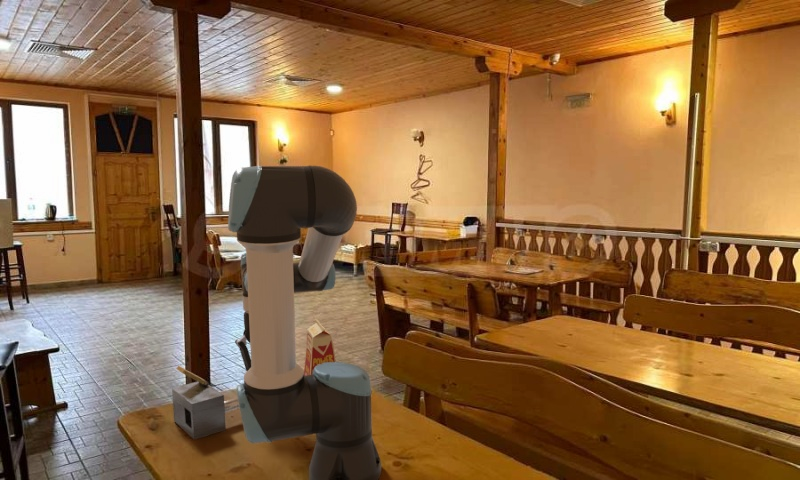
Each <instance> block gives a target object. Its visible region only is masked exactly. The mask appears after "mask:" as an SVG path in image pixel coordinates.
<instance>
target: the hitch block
mask: <svg viewBox="0 0 800 480" xmlns="http://www.w3.org/2000/svg"><path fill="white" fill-rule="evenodd" d="M171 397H172V406H173V408H172V409H173V410H172V411H173V421H175V422H176V425H177V426H179V428H181V429H182V430H183V431H184V432H185V433H186V434H187V435H188V436H189V437H191V438H192V440H194V441H195V440H198V439H200V438H204V437H207V436H209V435H213V434H216V433H220V432H222V431H225V430H227V427H226V425H227V423H226V421H227V420H226V413H225V404H224V401H225V395H224V394H223V393H222V392H221V391H219V390H217V389H215V388H214V387H213V386H211V385H210V384H209V385H208V386H205V385H204V384H202V383H200V382H198V381H195V382H191V383H187V384H183V385H179V386H175V387H172V388H171ZM175 422H174V423H175Z"/></svg>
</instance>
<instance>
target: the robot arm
mask: <svg viewBox="0 0 800 480" xmlns="http://www.w3.org/2000/svg"><path fill="white" fill-rule="evenodd" d="M228 199H229V202H228V219H227V221H228V222H227V227H228V231H230V232H232V233H236V241H237V242H238V244H239V245H241V246H242V247H243V248H245V252H244V253H242V254H241V256H240V274H241V288H242V309H243V311H244V313H243V326H244V330H243V333H242V334H243V335H242V336H241V337H240V338H239V339H236V340H235V341H234V343H235V344H236V346H237V347H238V348H239V351H240V355H241V357H242V358H241V359H242V362H243V363H244V367H245V371H246V372H245V373H244V376H243V383H240V384H238V385H237V386H236V394H237V398H238V401H239V406H240V408H239V409H240V411H239V412H240V416H241V422H242V427H243V432H244V435H245V438H246V440H247V442H249V443H251V444H261V443H269V444H270V443H273V442H275V441H281V440H287V439H294V438H298V437H304V436H310V435H316V436H315V437H316V440H315V444H314V448H313V452H312V456H311V460H310V462H309V464H308V475H309V478H308V479H309V480H379V479H380V478H381V475H382V462H381V461H382V460H381V457H380V455H379V452H378V449H377V447H376V445H375V444H376V443H375V441H374V438H373V425H372V420H373V419H372V394H373V393H372V392H373V391H372V386H371V379H370V378H371V377H370V375H369V373H368V371H367V370H366V369H365V368H362V367H361V366H359V365H357V364H353V363H348V362H343V361H342V362H339V361H336V362H327V363H322V364H319V365H317V366H315V368H314V370H313V375H307V376H304V367H302V366H301V365H299V364H298V363H297V355H296V353H297V352H296V351H297V348H296V347H297V346H296V318H295V315H296V314H295V294H297V293H310V292H323V291H327V290H328V291H329V290H332V289H333V288H334V287H335V285H336V279H337V277H336V275H337V274H336V268H335V264H334V263H333V262H334V261H335V260H334V259H335V258H336V254H337V253H338V250H339V246H340V245H341V242H342V239H343V237H344V235H345V234H347V233H348V232H349V231H350V230H351V229H352V228H353V225H354V223H355V221H356V217H357V214H358V206H357V200H356V199H357V198H356V196H355V193H354V191H353V190H352V188H351V186H350V185H349V183H347V181H346V180H345V178H343V177H342V176H341V175H339V174H338V173H337V172H335V171H334V170H331V169H330V168H327V167H324V166H320V165H302V166H301V165H284V166H283V165H269V166H268V165H255V166H246V167H243V166H242V167H240V168H238V169H236V170H235V171H234V172H233V174H232V178H231V183H230V192H229V198H228ZM301 229H307V233H306V237H305V240H304V244H303V248H302V252H301V255H300V257H299V258H300V259H299V262H294V255H293V254H294V246H295V245H296V244H297V243H298V242H299V241H300V240H301V237H302V236H301V235H302V234H301V232H302V231H301ZM247 342H248V343H249V344H250V352H249V350H248V347H247V345H248V343H247Z"/></svg>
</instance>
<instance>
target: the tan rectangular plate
mask: <svg viewBox="0 0 800 480" xmlns="http://www.w3.org/2000/svg"><path fill="white" fill-rule="evenodd" d="M176 370H177V371H178V372H180V373H182V374H183V375H185V376H187V377H189V378H190V379H193V380H194V381H195V382H200V383H202V384H204V385H205V386H208V385H210V383H209V382H208V381H207V380H206V379H204V378H202V377H200V376H199V375H196V374H195V373H193V372H192V371H189V370H187V369H185V368H183V367H182V366H180V365H178V366H177V368H176Z"/></svg>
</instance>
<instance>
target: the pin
mask: <svg viewBox="0 0 800 480" xmlns="http://www.w3.org/2000/svg"><path fill="white" fill-rule="evenodd" d="M224 404H225V414H226V413H228V412H232V411H236V410H239V409H240V406H239V401H238V397H235V398H231V399H228V400H224Z"/></svg>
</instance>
